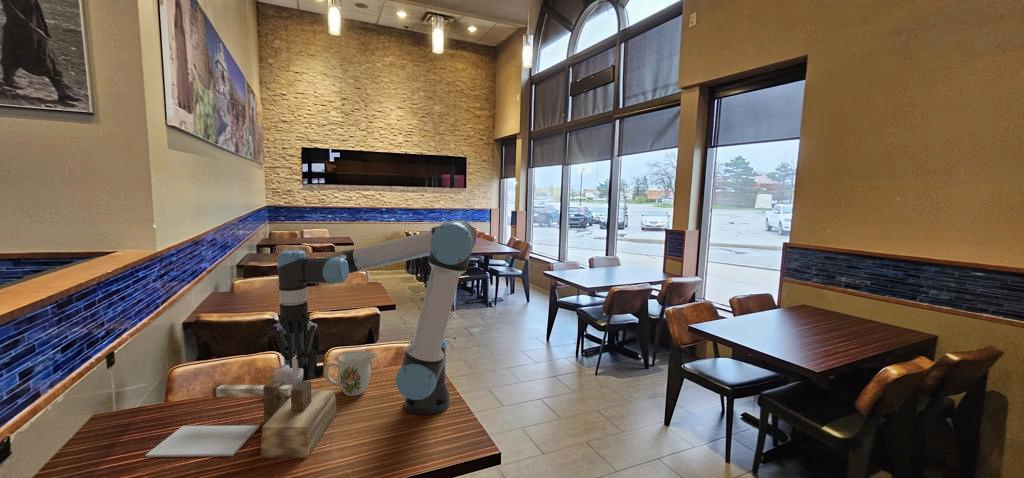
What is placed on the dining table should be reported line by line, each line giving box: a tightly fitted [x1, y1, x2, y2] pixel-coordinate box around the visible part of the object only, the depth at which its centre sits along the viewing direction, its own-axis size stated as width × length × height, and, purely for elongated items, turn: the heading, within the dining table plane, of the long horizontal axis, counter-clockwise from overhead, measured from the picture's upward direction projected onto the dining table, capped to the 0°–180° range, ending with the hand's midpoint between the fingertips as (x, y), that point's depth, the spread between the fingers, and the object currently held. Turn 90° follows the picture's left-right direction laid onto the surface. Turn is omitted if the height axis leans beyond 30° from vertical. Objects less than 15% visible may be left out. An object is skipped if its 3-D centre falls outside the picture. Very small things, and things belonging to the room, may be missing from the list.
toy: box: [267, 364, 304, 389], centre depth 153 cm, size 13×9×15 cm
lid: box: [261, 380, 336, 436], centre depth 123 cm, size 12×21×9 cm, turn 4°
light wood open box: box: [260, 379, 337, 459], centre depth 124 cm, size 19×22×12 cm
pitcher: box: [324, 350, 378, 397], centre depth 151 cm, size 11×18×14 cm, turn 96°
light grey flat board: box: [145, 425, 261, 458], centre depth 120 cm, size 22×14×1 cm, turn 94°
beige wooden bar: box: [211, 382, 292, 399], centre depth 129 cm, size 22×3×3 cm, turn 94°
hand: (297, 377), depth 130 cm, fingers closed
